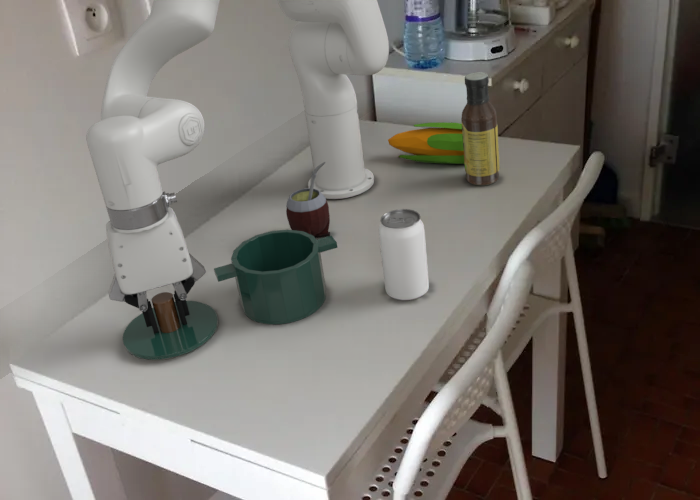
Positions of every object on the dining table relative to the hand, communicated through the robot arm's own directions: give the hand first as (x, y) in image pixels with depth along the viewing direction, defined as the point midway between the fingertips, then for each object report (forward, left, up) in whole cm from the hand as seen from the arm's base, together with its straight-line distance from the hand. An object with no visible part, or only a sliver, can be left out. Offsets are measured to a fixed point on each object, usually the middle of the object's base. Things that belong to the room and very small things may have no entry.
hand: (169, 323), depth 115 cm
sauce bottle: (-20, +61, -2) cm, 64 cm away
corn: (-33, +58, -2) cm, 67 cm away
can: (+7, +34, -2) cm, 35 cm away
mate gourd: (-16, +27, -2) cm, 31 cm away
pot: (0, +17, -2) cm, 17 cm away
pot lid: (0, 0, -1) cm, 1 cm away
